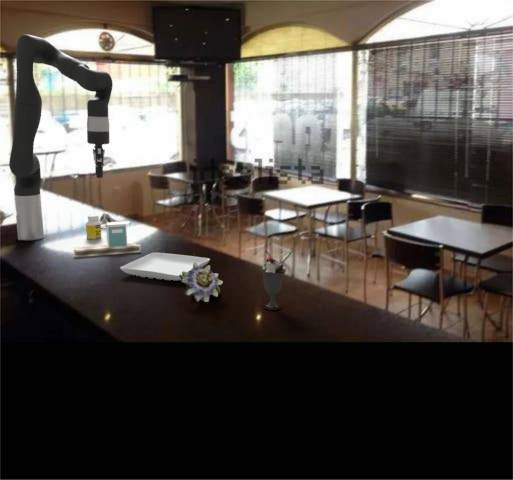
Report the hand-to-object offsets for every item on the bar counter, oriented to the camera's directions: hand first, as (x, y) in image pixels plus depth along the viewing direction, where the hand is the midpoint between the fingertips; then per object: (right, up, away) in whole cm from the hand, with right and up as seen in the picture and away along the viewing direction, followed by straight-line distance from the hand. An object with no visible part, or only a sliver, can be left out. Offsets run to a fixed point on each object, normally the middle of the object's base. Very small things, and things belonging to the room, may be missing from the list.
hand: (99, 176), depth 203 cm
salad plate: (+28, -33, -24) cm, 50 cm away
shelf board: (+3, -27, -2) cm, 27 cm away
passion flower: (+41, -39, -49) cm, 75 cm away
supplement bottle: (-6, -23, +16) cm, 29 cm away
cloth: (-10, -17, +46) cm, 50 cm away
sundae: (+60, -40, -56) cm, 92 cm away
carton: (+7, -26, 0) cm, 26 cm away
